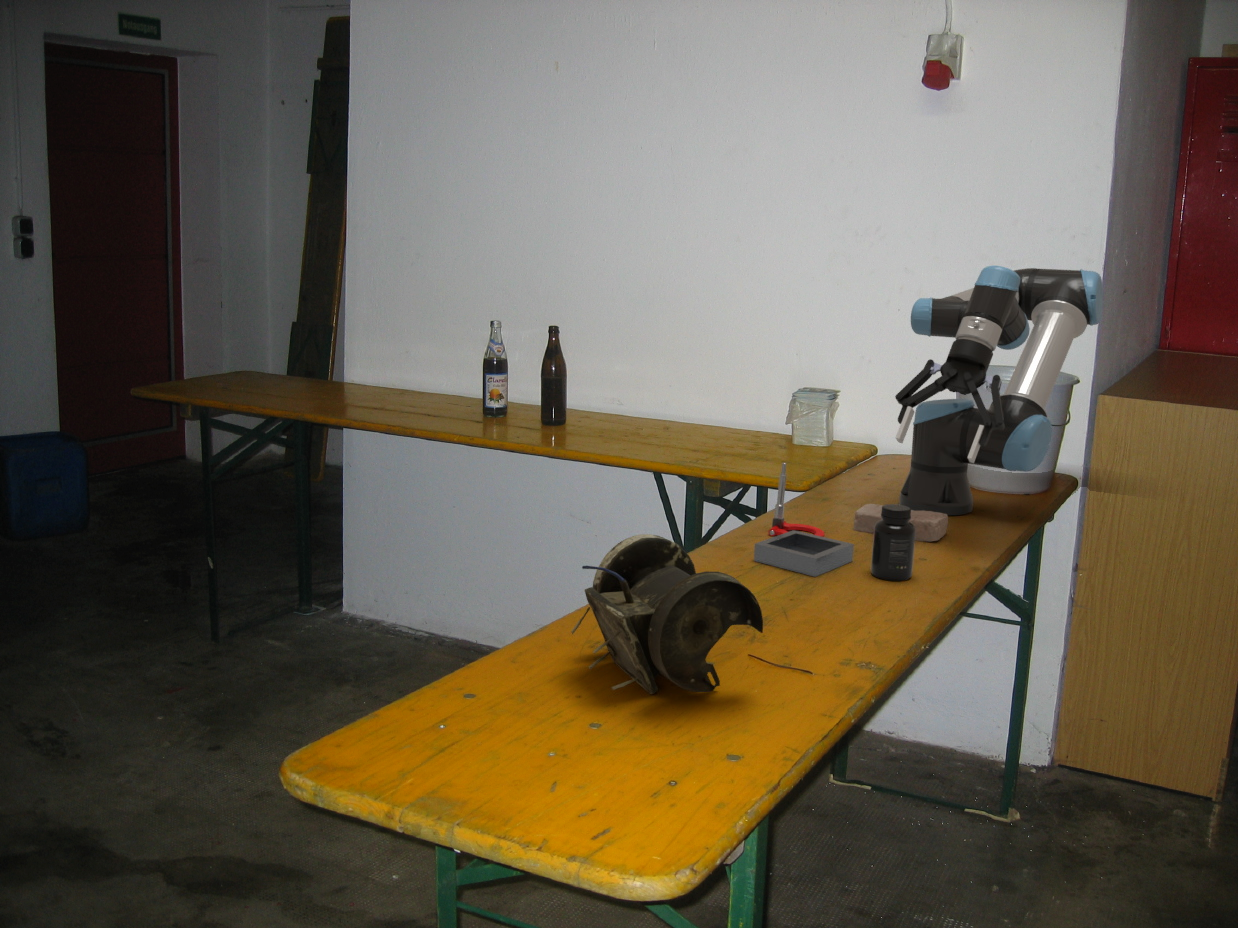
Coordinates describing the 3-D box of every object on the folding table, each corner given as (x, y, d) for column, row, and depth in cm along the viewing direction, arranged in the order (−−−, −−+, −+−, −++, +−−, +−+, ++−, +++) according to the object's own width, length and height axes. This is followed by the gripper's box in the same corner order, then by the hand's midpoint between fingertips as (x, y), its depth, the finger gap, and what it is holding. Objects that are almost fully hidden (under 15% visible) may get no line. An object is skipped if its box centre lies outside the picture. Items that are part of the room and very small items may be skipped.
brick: (851, 531, 213) (853, 508, 212) (865, 522, 220) (867, 499, 219) (936, 546, 205) (938, 522, 204) (947, 536, 212) (949, 512, 211)
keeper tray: (792, 546, 201) (793, 530, 200) (852, 561, 193) (853, 543, 192) (753, 560, 191) (754, 543, 191) (815, 576, 183) (816, 558, 183)
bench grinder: (706, 610, 156) (651, 492, 149) (789, 659, 136) (730, 526, 129) (589, 687, 150) (526, 569, 144) (658, 751, 130) (589, 616, 124)
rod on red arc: (829, 535, 211) (779, 525, 215) (837, 466, 207) (786, 457, 211) (816, 547, 203) (765, 537, 207) (825, 475, 199) (772, 466, 203)
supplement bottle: (917, 574, 186) (923, 506, 183) (902, 584, 181) (908, 514, 178) (880, 566, 190) (885, 500, 187) (864, 576, 185) (869, 507, 182)
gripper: (905, 323, 204) (865, 426, 202) (1039, 353, 192) (999, 462, 189) (913, 339, 211) (875, 439, 208) (1044, 368, 198) (1004, 475, 195)
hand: (934, 450), depth 199 cm, fingers open, 13 cm apart
